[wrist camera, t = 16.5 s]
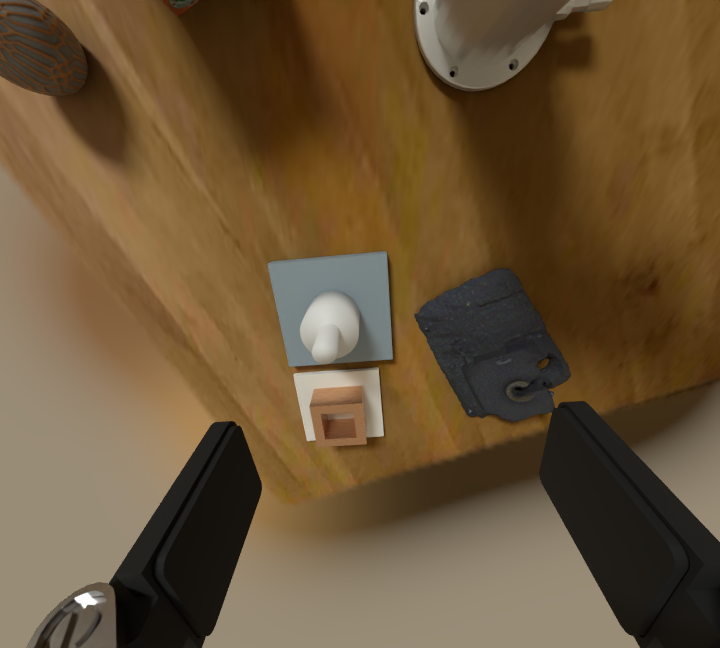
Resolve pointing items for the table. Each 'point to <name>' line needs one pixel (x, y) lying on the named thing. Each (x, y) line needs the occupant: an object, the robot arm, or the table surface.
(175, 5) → the milk carton
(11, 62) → the vase
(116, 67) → the table surface
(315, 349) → the post stand
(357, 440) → the copper link
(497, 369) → the dark pouch with grommet
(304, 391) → the white mat
